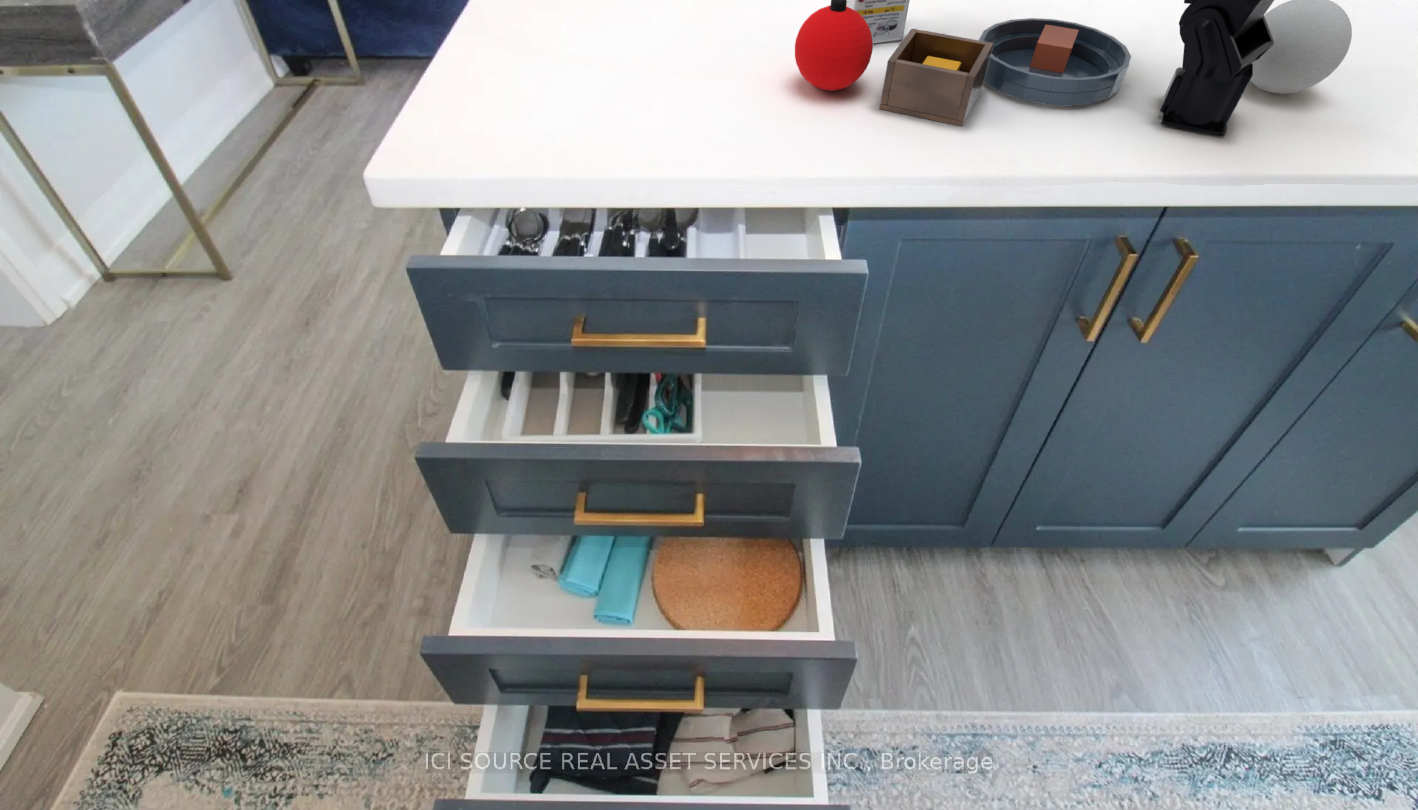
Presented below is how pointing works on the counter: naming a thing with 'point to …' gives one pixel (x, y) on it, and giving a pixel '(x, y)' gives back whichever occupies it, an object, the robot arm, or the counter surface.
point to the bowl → (1083, 81)
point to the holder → (935, 77)
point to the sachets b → (1054, 48)
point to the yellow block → (942, 63)
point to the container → (882, 17)
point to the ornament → (833, 47)
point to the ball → (1302, 45)
